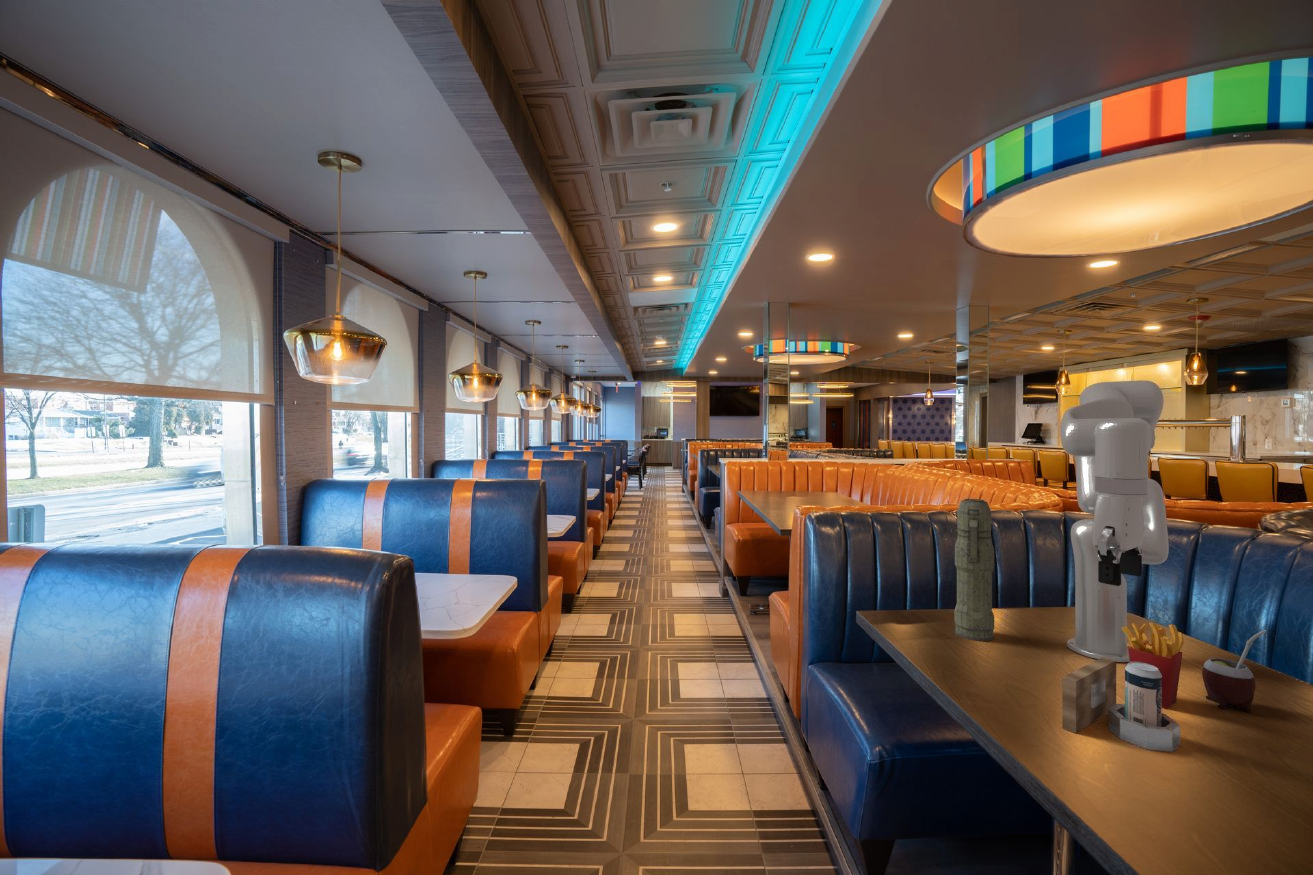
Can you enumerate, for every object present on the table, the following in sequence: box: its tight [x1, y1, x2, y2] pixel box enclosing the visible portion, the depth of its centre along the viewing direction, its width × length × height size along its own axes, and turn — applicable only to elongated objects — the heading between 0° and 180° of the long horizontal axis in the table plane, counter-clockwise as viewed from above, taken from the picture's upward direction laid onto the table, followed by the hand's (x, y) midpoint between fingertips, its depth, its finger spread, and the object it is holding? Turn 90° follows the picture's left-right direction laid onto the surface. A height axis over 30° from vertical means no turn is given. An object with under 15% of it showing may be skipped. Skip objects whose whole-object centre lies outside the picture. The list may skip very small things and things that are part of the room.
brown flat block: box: [1061, 657, 1117, 734], centre depth 100 cm, size 17×2×9 cm, turn 122°
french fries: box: [1121, 622, 1185, 710], centre depth 107 cm, size 9×8×15 cm
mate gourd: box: [1201, 629, 1268, 714], centre depth 104 cm, size 8×8×15 cm
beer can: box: [1124, 662, 1163, 727], centre depth 94 cm, size 5×5×12 cm
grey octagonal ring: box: [1107, 703, 1181, 753], centre depth 93 cm, size 8×8×4 cm
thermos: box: [953, 498, 995, 642], centre depth 142 cm, size 9×12×35 cm
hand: (1120, 579), depth 101 cm, fingers open, 9 cm apart
